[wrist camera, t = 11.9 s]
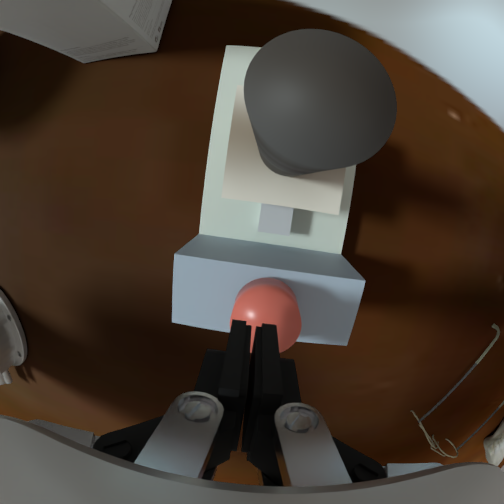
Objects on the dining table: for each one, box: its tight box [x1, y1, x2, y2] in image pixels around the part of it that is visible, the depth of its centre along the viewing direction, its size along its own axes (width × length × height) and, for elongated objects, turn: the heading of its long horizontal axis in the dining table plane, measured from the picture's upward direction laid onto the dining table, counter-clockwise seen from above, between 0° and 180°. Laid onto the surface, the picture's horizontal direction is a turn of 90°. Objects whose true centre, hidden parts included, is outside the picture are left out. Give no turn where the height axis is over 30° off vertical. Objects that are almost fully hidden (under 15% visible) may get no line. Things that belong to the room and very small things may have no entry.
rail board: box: [172, 45, 366, 346], centre depth 16 cm, size 18×10×7 cm, turn 172°
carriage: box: [221, 29, 397, 215], centre depth 11 cm, size 6×6×14 cm
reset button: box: [230, 278, 302, 353], centre depth 13 cm, size 3×3×2 cm
